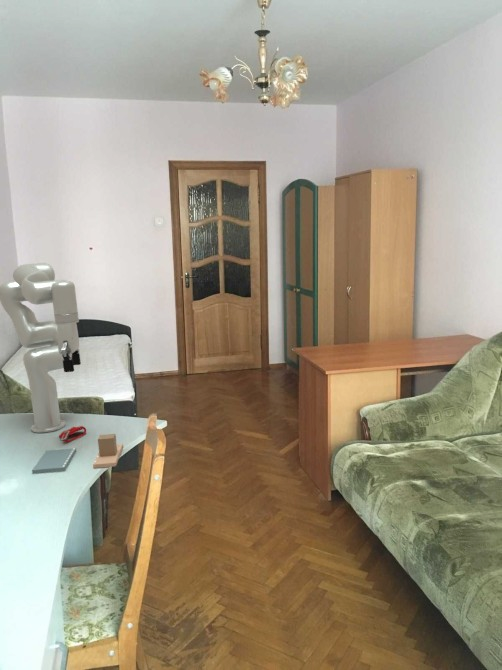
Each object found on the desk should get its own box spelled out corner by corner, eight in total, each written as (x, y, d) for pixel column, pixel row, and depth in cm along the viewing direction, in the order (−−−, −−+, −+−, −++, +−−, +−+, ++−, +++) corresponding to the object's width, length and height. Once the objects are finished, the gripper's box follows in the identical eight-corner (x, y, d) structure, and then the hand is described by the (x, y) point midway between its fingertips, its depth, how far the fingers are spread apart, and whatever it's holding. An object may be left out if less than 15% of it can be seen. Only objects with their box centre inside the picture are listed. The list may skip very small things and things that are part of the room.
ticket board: (46, 453, 188) (46, 450, 188) (76, 451, 189) (76, 447, 189) (32, 473, 173) (31, 469, 172) (65, 470, 173) (64, 466, 173)
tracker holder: (55, 433, 206) (81, 421, 210) (60, 443, 206) (85, 432, 210) (58, 435, 195) (85, 423, 199) (63, 447, 195) (90, 434, 199)
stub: (102, 448, 190) (100, 428, 188) (123, 447, 190) (121, 427, 189) (93, 468, 174) (90, 446, 173) (115, 466, 174) (113, 444, 173)
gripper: (61, 315, 193) (67, 363, 196) (48, 323, 176) (54, 375, 179) (83, 314, 193) (89, 361, 197) (72, 321, 176) (78, 373, 180)
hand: (72, 368), depth 188 cm, fingers open, 9 cm apart
